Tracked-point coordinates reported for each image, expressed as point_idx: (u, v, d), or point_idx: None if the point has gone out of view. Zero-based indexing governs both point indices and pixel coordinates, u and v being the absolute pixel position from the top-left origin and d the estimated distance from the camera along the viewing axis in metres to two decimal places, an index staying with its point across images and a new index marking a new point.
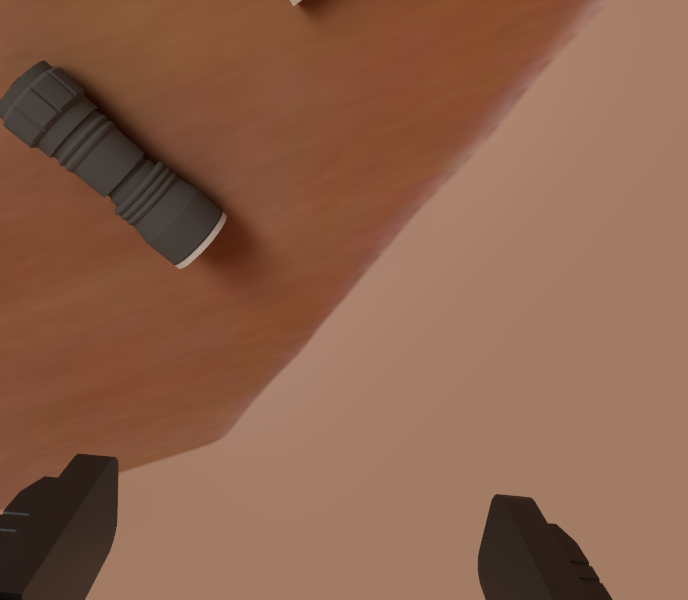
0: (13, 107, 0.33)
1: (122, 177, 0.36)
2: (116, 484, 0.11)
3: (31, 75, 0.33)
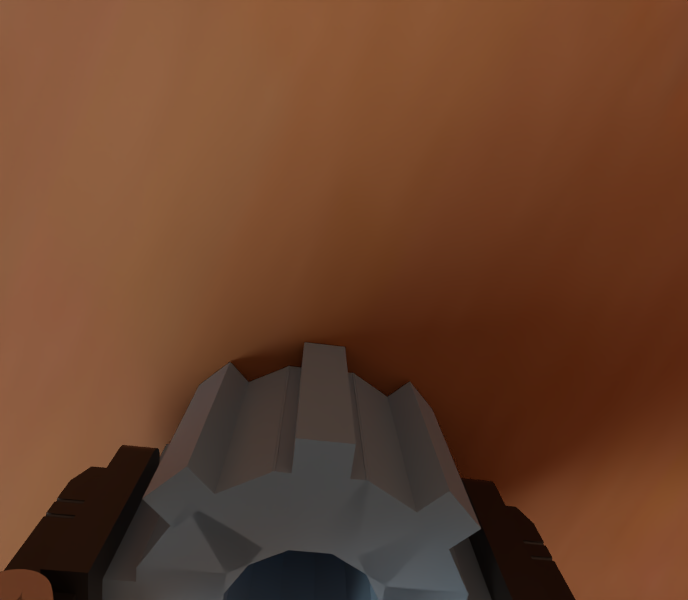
0: None
1: None
2: None
3: None
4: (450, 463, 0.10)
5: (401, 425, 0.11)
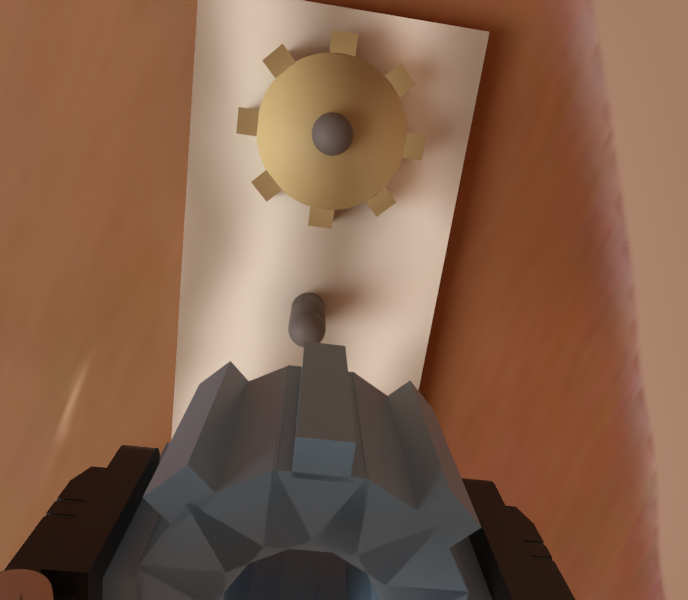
0: None
1: None
2: None
3: None
4: (450, 462, 0.10)
5: (401, 424, 0.11)
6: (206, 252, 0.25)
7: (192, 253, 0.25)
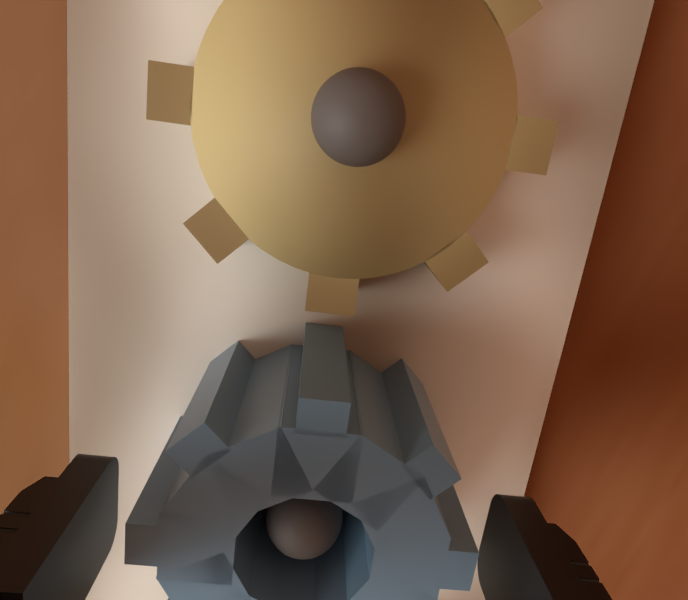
0: None
1: None
2: (116, 484, 0.11)
3: None
4: (436, 426, 0.11)
5: (393, 395, 0.12)
6: (115, 350, 0.13)
7: (87, 351, 0.13)
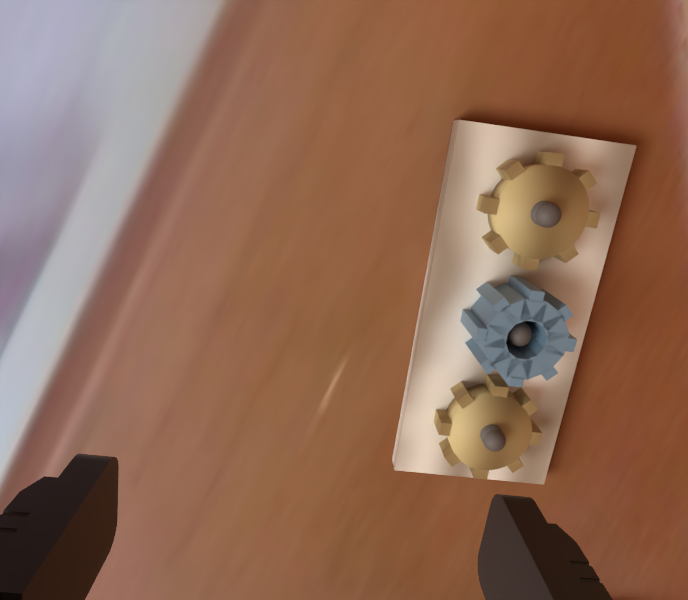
0: None
1: None
2: (116, 484, 0.11)
3: None
4: None
5: (544, 298, 0.37)
6: (444, 284, 0.38)
7: (434, 285, 0.38)
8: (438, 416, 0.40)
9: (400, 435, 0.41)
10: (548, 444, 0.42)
